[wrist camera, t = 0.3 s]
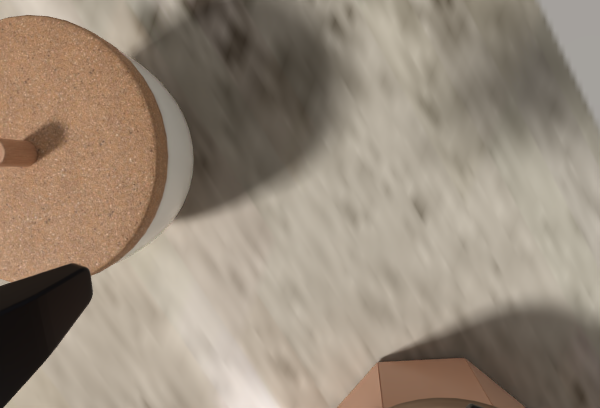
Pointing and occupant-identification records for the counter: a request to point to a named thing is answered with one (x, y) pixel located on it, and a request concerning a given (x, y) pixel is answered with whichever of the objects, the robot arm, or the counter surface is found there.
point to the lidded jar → (82, 150)
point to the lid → (440, 403)
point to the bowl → (426, 384)
